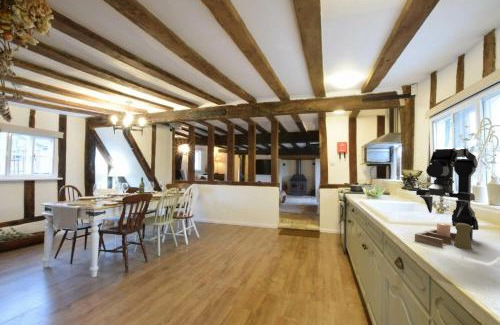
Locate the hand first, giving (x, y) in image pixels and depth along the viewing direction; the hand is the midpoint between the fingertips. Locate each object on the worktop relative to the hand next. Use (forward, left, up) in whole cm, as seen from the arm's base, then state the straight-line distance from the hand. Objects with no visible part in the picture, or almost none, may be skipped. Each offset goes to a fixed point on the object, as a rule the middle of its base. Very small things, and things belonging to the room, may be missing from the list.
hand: (442, 214), depth 103 cm
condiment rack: (-10, -5, -14) cm, 18 cm away
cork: (-9, +4, -15) cm, 18 cm away
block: (-15, -4, -14) cm, 20 cm away
